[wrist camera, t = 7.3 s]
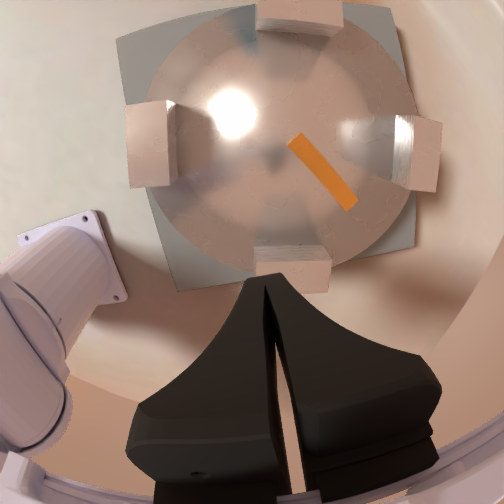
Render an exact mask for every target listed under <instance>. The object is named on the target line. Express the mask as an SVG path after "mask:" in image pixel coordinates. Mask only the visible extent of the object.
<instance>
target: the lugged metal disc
mask: <svg viewBox="0 0 504 504" xmlns="http://www.w3.org/2000/svg"><path fill="white" fill-rule="evenodd" d="M125 119H126V143H127V159H128V172H129V183H130V188H142V187H150V189H151V191H152V194H153V196H154V198H155V200H156V202H157V203H158V205H159V207H160V208H161V210H162V212H163V213H164V215H165V216H166V217H167V219H168V220H169V221H170V223H171V224H172V225H173V226H174V228H175V229H176V230H177V231H178V232H179V233H180V234H181V235H182V236H183V237H184V238H185V239H186V240H188V241H189V242H190V243H191V244H192V245H194V246H195V247H196V248H198V249H199V250H201V251H202V252H203V253H205V254H207V255H208V256H210V257H212V258H214V259H215V260H217V261H219V262H221V263H224V264H226V265H229V266H231V267H234V268H236V269H240V270H243V271H247V272H251V273H254V277H257V276H262V275H268V274H273V273H279V272H280V273H282V274H283V275H284V276H285V278H286V279H287V280H288V281H289V283H290V284H291V285H292V286H293V287H294V288H295V289H296V290H297V291H298V292H299V293H300V294H309V293H328V287H329V281H330V274H331V267H334V266H336V265H339V264H341V263H343V262H345V261H347V260H349V259H351V258H353V257H354V256H356V255H357V254H359V253H361V252H362V251H364V250H365V249H366V248H368V247H369V246H370V245H371V244H373V243H374V242H375V241H376V240H377V239H379V238H380V236H381V235H382V234H383V233H384V232H385V231H386V230H387V229H388V228H389V227H390V226H391V224H392V223H393V222H394V220H395V219H396V218H397V216H398V215H399V214H400V212H401V210H402V208H403V207H404V205H405V203H406V201H407V199H408V197H409V195H410V192H411V190H416V191H426V192H435V193H436V187H437V179H438V171H439V163H440V152H441V140H442V123H441V122H437V121H434V120H430V119H426V118H422V117H419V116H418V111H417V107H416V103H415V100H414V97H413V95H412V92H411V89H410V87H409V85H408V83H407V81H406V79H405V77H404V75H403V73H402V71H401V70H400V68H399V67H398V65H397V64H396V62H395V61H394V60H393V58H392V57H391V56H390V54H389V53H388V52H387V51H386V50H385V49H384V48H383V47H382V46H381V45H380V43H379V42H377V41H376V40H375V39H374V38H373V37H372V36H370V35H369V34H368V33H367V32H366V31H364V30H363V29H361V28H360V27H358V26H357V25H355V24H354V23H352V22H350V21H349V20H347V19H345V18H343V9H342V0H255V4H253V5H249V6H244V7H240V8H236V9H233V10H231V11H228V12H226V13H223V14H221V15H218V16H216V17H214V18H212V19H211V20H209V21H207V22H205V23H204V24H202V25H200V26H199V27H197V28H196V29H195V30H193V31H192V32H191V33H190V34H188V35H187V36H186V37H185V38H183V39H182V40H181V42H180V43H179V44H178V45H177V46H176V47H175V48H174V49H173V50H172V51H171V52H170V53H169V55H168V56H167V57H166V59H165V60H164V62H163V63H162V65H161V66H160V68H159V69H158V71H157V73H156V75H155V77H154V79H153V81H152V83H151V85H150V87H149V90H148V93H147V96H146V99H145V103H139V104H132V105H126V106H125Z"/></svg>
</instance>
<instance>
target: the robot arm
mask: <svg viewBox="0 0 504 504" xmlns="http://www.w3.org/2000/svg"><path fill="white" fill-rule="evenodd" d="M84 216H86V217H87V218H88V221H87V220H85V217H84ZM27 236H28V237H27ZM28 238H29V239H28ZM17 242H18V245H19V248H18V249H17V250H16V251H14V252H13V253H12V254H11V255H9V256H8V257H7V258H6V259H4V260H3V261H2V262H1V263H0V473H1V475H0V504H366V503H369V502H372V501H375V500H378V499H381V498H384V497H387V496H389V495H392V494H395V493H398V492H400V491H403V490H405V489H408V488H409V489H408V491H407V494H406V495H405V496H404V497H400V498H397V499H394V500H391V501H388V502H385V503H381V504H496V503H497V502H499V501H500V500H501V499H502V498H504V411H503V412H501V413H500V414H499V415H497V416H495V417H494V418H492V419H491V420H489V421H488V422H486V423H484V424H483V425H482V426H480V427H478V428H476V429H475V430H473V431H471V432H470V433H468V434H466V435H464V436H463V437H461V438H459V439H457V440H455V441H453V442H451V443H449V444H448V445H446V446H444V447H442V448H440V449H438V450H436V448H435V446H434V444H433V442H432V440H431V437H430V436H431V435H432V434H433V430H432V428H431V425H430V424H429V419H430V417H431V416H432V414H433V412H434V410H435V408H436V406H437V404H438V402H439V399H440V397H441V394H442V387H441V384H440V383H439V381H438V379H437V378H436V376H435V374H434V373H433V372H432V370H431V368H430V367H429V366H428V365H427V363H426V362H425V361H424V360H423V359H422V357H421V356H420V355H416V354H412V353H408V352H404V351H401V350H397V349H393V348H390V347H387V346H384V345H381V344H379V343H376V342H373V341H371V340H368V339H366V338H364V337H362V336H360V335H358V334H356V333H354V332H352V331H350V330H348V329H346V328H344V327H342V326H340V325H339V324H337V323H336V322H334V321H333V320H331V319H330V318H328V317H327V316H325V315H324V314H323V313H321V312H320V311H319V310H318V309H316V308H315V307H314V306H313V305H312V304H310V303H309V302H308V301H307V300H306V299H305V298H304V297H303V296H302V295H301V294H300V293H299V292H298V291H297V290H296V289H295V288H294V287H293V286H292V285H291V284H290V283H289V281H288V280H287V279H286V278H285V276H284V275H283V274H282V273H280V272H279V273H273V274H268V275H262V276H257V277H251V278H247V279H246V280H245V281H244V285H243V287H242V290H241V293H240V295H239V297H238V299H237V301H236V303H235V305H234V307H233V309H232V311H231V313H230V315H229V316H228V318H227V320H226V321H225V323H224V325H223V326H222V328H221V329H220V331H219V332H218V334H217V335H216V336H215V338H214V339H213V340H212V342H211V343H210V344H209V346H208V347H207V348H206V349H205V350H204V351H203V352H202V354H201V355H200V356H199V357H198V358H197V359H196V360H195V361H194V362H193V363H192V364H191V365H190V366H189V367H188V368H187V369H186V370H185V371H183V372H182V373H181V374H180V375H179V376H178V377H176V378H175V379H174V380H173V381H171V382H170V383H169V384H168V385H166V386H165V387H164V388H162V389H161V390H159V391H158V392H156V393H155V394H153V395H152V396H150V397H149V398H147V399H146V400H144V401H142V402H141V403H139V404H138V407H137V409H136V412H135V415H134V417H133V421H132V424H131V428H130V432H129V437H128V441H127V445H126V450H125V451H126V454H127V457H128V458H129V459H130V460H131V461H132V463H133V464H134V465H135V466H137V467H138V468H139V469H140V470H142V471H143V472H144V473H145V474H147V475H148V476H149V477H151V478H152V479H153V480H155V481H156V483H155V491H154V497H153V496H145V495H138V494H132V493H126V492H120V491H115V490H110V489H106V488H101V487H97V486H93V485H89V484H85V483H81V482H78V481H75V480H71V479H68V478H65V477H62V476H58V475H56V474H53V473H50V472H47V471H45V469H44V468H42V467H41V466H40V465H38V464H37V463H36V462H34V461H32V460H31V459H30V458H32V457H34V456H36V455H39V454H41V453H44V452H45V451H47V450H49V449H50V448H52V447H53V446H54V445H55V444H56V443H57V442H58V441H59V440H60V439H61V438H62V436H63V435H64V433H65V431H66V429H67V427H68V424H69V421H70V418H71V414H72V408H73V401H72V396H71V394H70V392H69V390H68V388H67V387H66V386H65V385H64V384H65V381H66V379H67V377H68V375H69V373H70V370H69V368H68V367H67V365H66V363H65V360H66V358H67V356H68V354H69V352H70V350H71V349H72V347H73V345H74V343H75V342H76V340H77V338H78V336H79V335H80V333H81V331H82V330H83V328H84V326H85V324H86V323H87V321H88V320H89V318H90V316H91V315H92V313H93V311H94V310H95V308H96V307H97V306H98V305H105V304H112V303H119V302H125V301H126V300H127V298H128V295H127V292H126V290H125V287H124V285H123V283H122V280H121V278H120V275H119V273H118V270H117V268H116V265H115V263H114V260H113V258H112V255H111V252H110V250H109V247H108V244H107V241H106V239H105V236H104V233H103V230H102V227H101V224H100V221H99V218H98V215H97V213H96V212H95V211H94V210H88V211H85V212H82V213H79V214H76V215H73V216H69V217H66V218H63V219H61V220H58V221H55V222H52V223H49V224H46V225H43V226H40V227H38V228H35V229H32V230H30V231H27V232H24V233H22V234H20V235H18V236H17ZM115 295H116V296H118V297H119V298H117V297H116V296H115ZM275 343H276V346H277V350H278V353H279V357H280V360H281V364H282V367H283V371H284V374H285V378H286V381H287V385H288V388H289V392H290V397H291V402H292V408H293V414H294V420H295V425H296V431H297V437H298V443H299V449H300V455H301V462H302V468H303V474H304V480H305V487H306V492H303V493H297V494H292V488H291V483H290V475H289V469H288V463H287V456H286V449H285V443H284V437H283V429H282V422H281V415H280V409H279V402H278V392H277V370H276V349H275ZM410 487H411V488H410Z"/></svg>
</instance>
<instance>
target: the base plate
mask: <svg viewBox="0 0 504 504" xmlns="http://www.w3.org/2000/svg"><path fill="white" fill-rule="evenodd" d="M246 6H249V5H246ZM240 7H244V6H238V7H231V8H225V9H219V10H214V11H209V12H204V13H199V14H194V15H190V16H186V17H182V18H178V19H174V20H171V21H167V22H164V23H160V24H157V25H154V26H151V27H147V28H144V29H141V30H139V31H136V32H133V33H130V34H127V35H125V36H122V37H120V38H117V39H116V45H117V52H118V59H119V66H120V72H121V78H122V84H123V90H124V95H125V101H126V105H132V104H139V103H145V99H146V96H147V93H148V90H149V87H150V85H151V83H152V81H153V79H154V77H155V75H156V73H157V71H158V69H159V68H160V66H161V65H162V63H163V62H164V60H165V59H166V57H167V56H168V55H169V53H170V52H171V51H172V50H173V49H174V48H175V47H176V46H177V45H178V44H179V43H180V42H181V40H182V39H183V38H185V37H186V36H187V35H188V34H190V33H191V32H192V31H193V30H195V29H196V28H197V27H199V26H200V25H202V24H204V23H205V22H207V21H209V20H211V19H212V18H214V17H216V16H218V15H221V14H223V13H226V12H228V11H231V10H233V9H236V8H240ZM342 9H343V18H345V19H347V20H349V21H350V22H352V23H354V24H355V25H357V26H358V27H360V28H361V29H363V30H364V31H366V32H367V33H368V34H369V35H370V36H372V37H373V38H374V39H375V40H376V41H377V42H379V43H380V45H381V46H382V47H383V48H384V49H385V50H386V51H387V52H388V53H389V54H390V56H391V57H392V58H393V60H394V61H395V62H396V64H397V65H398V67H399V68H400V70H401V71H402V73H403V75H404V77H405V79H406V81H407V78H406V72H405V67H404V62H403V57H402V52H401V48H400V43H399V39H398V35H397V31H396V27H395V23H394V20H393V16H392V13H391V10H390V8H386V7H380V6H372V5H364V4H354V3H342ZM145 188H146V192H147V196H148V199H149V203H150V206H151V210H152V213H153V217H154V220H155V224H156V227H157V230H158V234H159V237H160V240H161V243H162V246H163V250H164V253H165V256H166V259H167V262H168V265H169V268H170V271H171V274H172V277H173V280H174V283H175V285H176V288H177V291H178V292H181V291H187V290H193V289H199V288H205V287H211V286H217V285H222V284H228V283H234V282H240V281H245V280H246V279H247V278H251V277H254V273H251V272H247V271H243V270H240V269H236V268H234V267H231V266H229V265H226V264H224V263H221V262H219V261H217V260H215V259H214V258H212V257H210V256H208V255H207V254H205V253H203V252H202V251H201V250H199V249H198V248H196V247H195V246H194V245H192V244H191V243H190V242H189V241H188V240H186V239H185V238H184V237H183V236H182V235H181V234H180V233H179V232H178V231H177V230H176V229H175V228H174V226H173V225H172V224H171V223H170V221H169V220H168V219H167V217H166V216H165V215H164V213H163V212H162V210H161V208H160V207H159V205H158V203H157V202H156V200H155V198H154V196H153V194H152V191H151V189H150V187H145ZM415 221H416V190H411V192H410V195H409V197H408V199H407V201H406V203H405V205H404V207H403V208H402V210H401V212H400V214H399V215H398V216H397V218H396V219H395V220H394V222H393V223H392V224H391V226H390V227H389V228H388V229H387V230H386V231H385V232H384V233H383V234H382V235H381V236H380V238H379V239H377V240H376V241H375V242H374V243H373V244H371V245H370V246H369V247H368V248H366V249H365V250H364V251H362V252H361V253H359V254H357V255H356V256H354V257H353V258H351V259H349V260H347V261H350V260H354V259H359V258H364V257H369V256H374V255H378V254H383V253H388V252H392V251H397V250H401V249H406V248H410V247H414V240H415Z"/></svg>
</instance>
